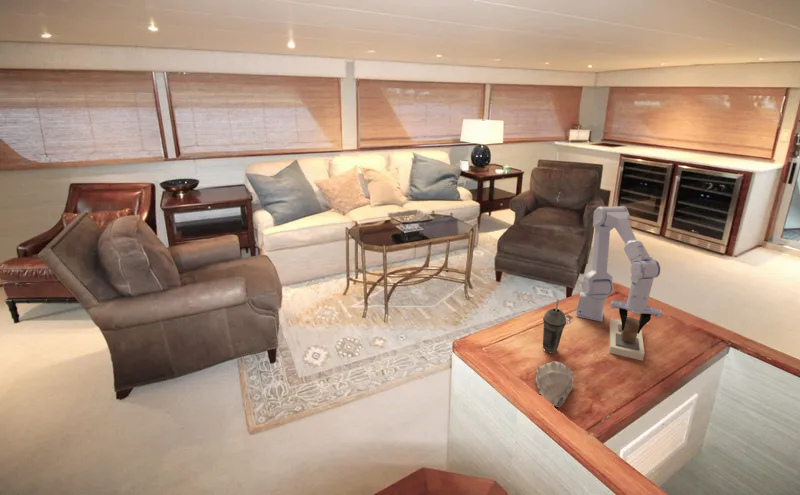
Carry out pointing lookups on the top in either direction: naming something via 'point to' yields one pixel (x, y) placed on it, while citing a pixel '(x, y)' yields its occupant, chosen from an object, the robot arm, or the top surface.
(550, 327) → the beverage cup
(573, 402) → the top surface
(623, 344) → the slate mat
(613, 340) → the pocket board
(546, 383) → the seashell
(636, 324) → the walnut block
